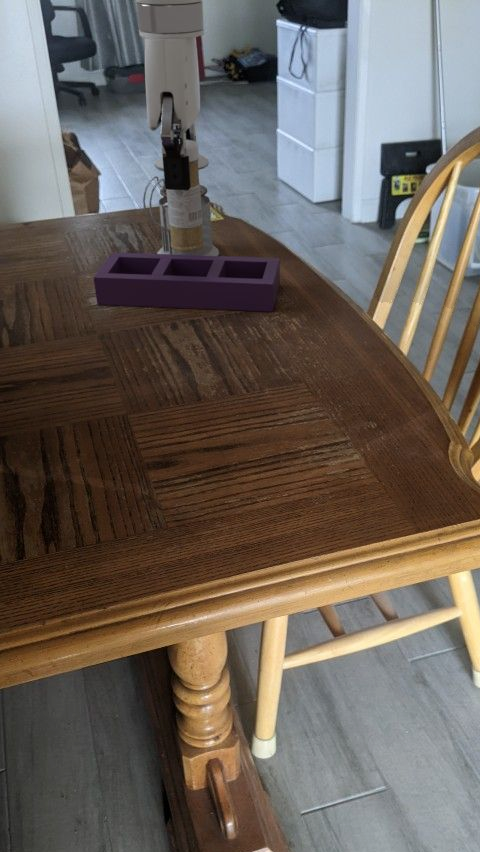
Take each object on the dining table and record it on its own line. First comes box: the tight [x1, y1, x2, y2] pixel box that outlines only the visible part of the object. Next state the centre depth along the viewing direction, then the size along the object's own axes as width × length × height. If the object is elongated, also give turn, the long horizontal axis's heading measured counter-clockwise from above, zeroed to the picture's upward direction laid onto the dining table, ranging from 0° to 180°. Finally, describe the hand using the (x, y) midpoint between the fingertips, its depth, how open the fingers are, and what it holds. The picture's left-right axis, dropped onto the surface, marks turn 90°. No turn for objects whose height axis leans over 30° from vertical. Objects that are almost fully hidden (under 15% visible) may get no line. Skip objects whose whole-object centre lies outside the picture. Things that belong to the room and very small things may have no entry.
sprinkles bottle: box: [166, 139, 204, 252], centre depth 102 cm, size 5×5×14 cm
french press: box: [142, 126, 220, 256], centre depth 115 cm, size 10×12×25 cm
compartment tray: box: [93, 251, 281, 313], centre depth 109 cm, size 9×24×4 cm, turn 84°
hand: (182, 181), depth 101 cm, fingers closed on sprinkles bottle, 4 cm apart
